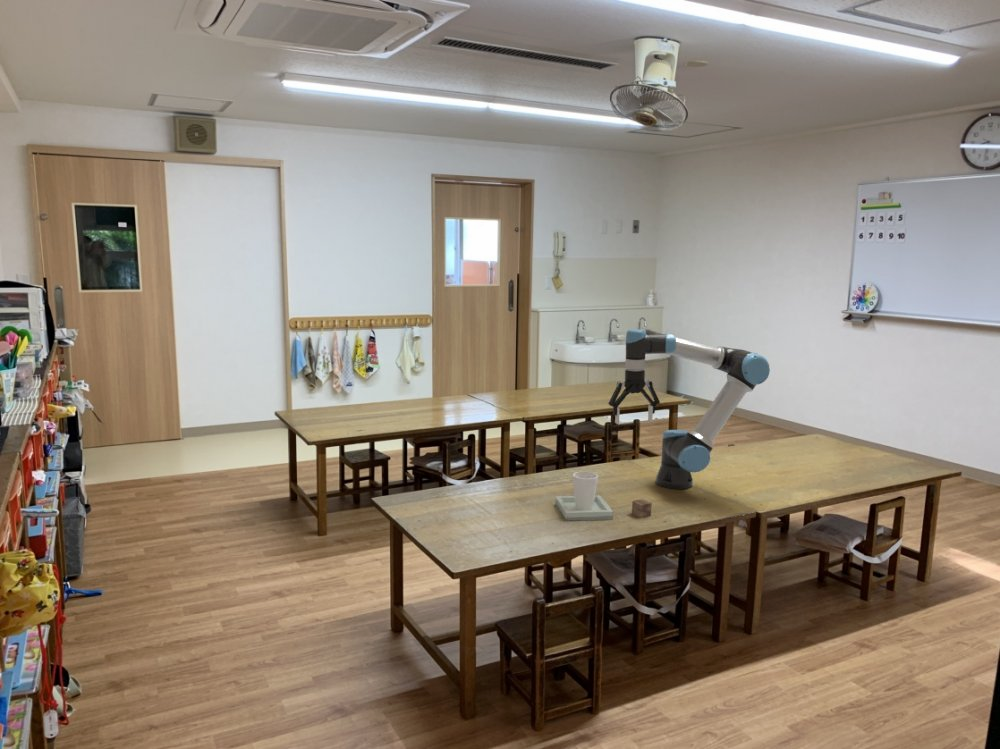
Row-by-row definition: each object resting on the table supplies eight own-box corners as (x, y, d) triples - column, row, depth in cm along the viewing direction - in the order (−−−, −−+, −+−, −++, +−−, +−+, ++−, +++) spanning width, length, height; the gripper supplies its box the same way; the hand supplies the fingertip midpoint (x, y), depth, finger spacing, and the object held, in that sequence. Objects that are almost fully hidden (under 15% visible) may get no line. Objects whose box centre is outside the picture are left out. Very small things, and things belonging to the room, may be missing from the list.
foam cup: (596, 504, 283) (598, 472, 281) (597, 513, 274) (598, 479, 272) (571, 503, 284) (572, 470, 282) (571, 511, 275) (572, 478, 272)
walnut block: (642, 511, 281) (642, 498, 280) (650, 515, 276) (651, 503, 275) (631, 513, 278) (632, 500, 277) (640, 518, 274) (641, 505, 273)
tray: (599, 502, 289) (599, 495, 288) (612, 519, 272) (613, 511, 271) (555, 503, 286) (555, 496, 286) (565, 520, 269) (566, 512, 269)
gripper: (661, 366, 294) (660, 418, 297) (601, 368, 289) (600, 421, 293) (669, 369, 286) (667, 423, 290) (607, 372, 282) (606, 426, 286)
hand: (633, 422), depth 292 cm, fingers open, 13 cm apart
